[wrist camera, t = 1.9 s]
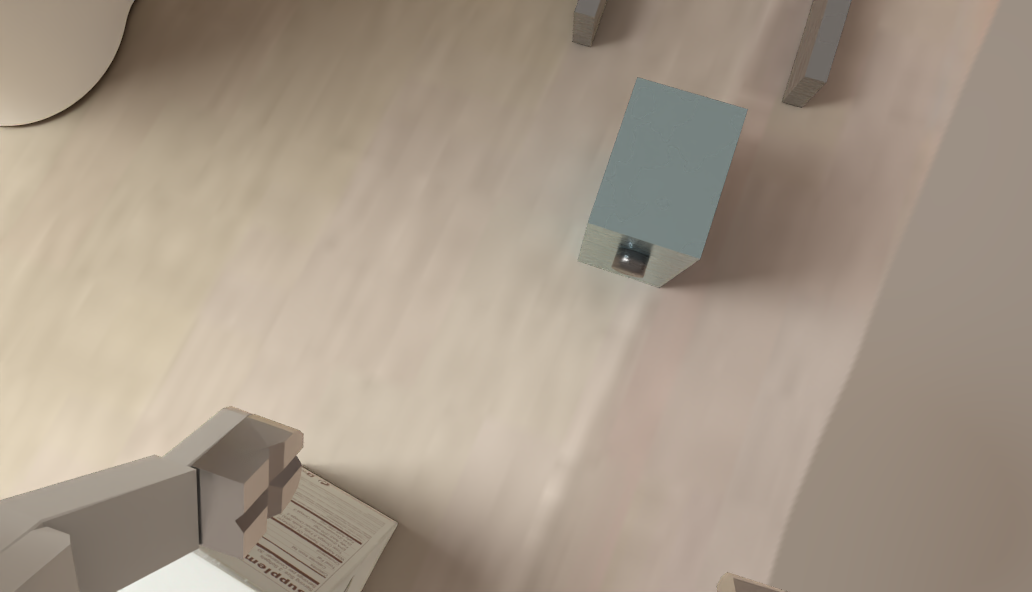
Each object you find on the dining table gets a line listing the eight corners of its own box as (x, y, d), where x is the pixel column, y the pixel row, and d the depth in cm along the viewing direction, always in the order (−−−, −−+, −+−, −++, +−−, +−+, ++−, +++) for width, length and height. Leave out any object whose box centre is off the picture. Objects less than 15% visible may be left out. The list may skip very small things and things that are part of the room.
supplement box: (340, 640, 31) (198, 825, 19) (232, 571, 32) (27, 705, 20) (404, 521, 32) (308, 623, 19) (296, 456, 33) (138, 514, 20)
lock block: (654, 302, 32) (693, 278, 23) (572, 275, 33) (581, 242, 24) (694, 177, 33) (747, 109, 24) (614, 153, 34) (637, 77, 25)
